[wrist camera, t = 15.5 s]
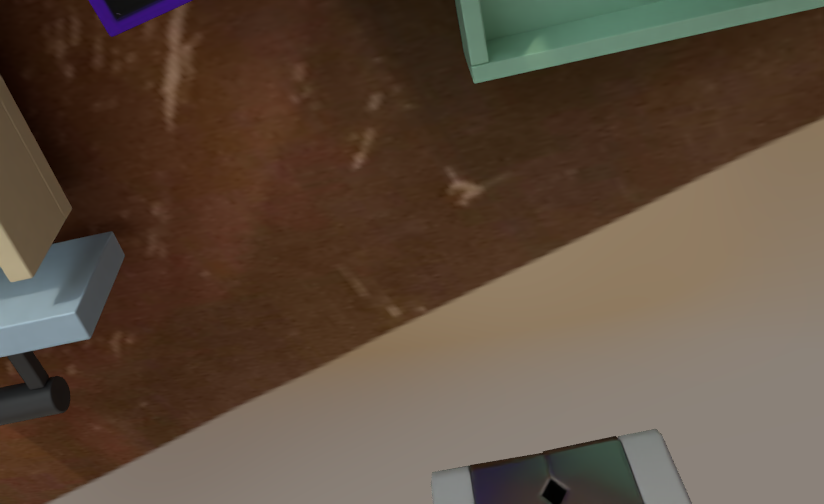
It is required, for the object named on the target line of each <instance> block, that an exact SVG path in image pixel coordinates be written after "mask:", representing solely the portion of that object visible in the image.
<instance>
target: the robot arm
mask: <svg viewBox="0 0 824 504" xmlns="http://www.w3.org/2000/svg"><path fill="white" fill-rule="evenodd" d="M431 487H432V497H433V504H692V502H691V500H690V498H689V496H688V493H687V491H686V489H685V487H684V484H683V482H682V480H681V477H680V475H679V473H678V471H677V468H676V466H675V464H674V461H673V460H672V457H671V455H670V452H669V450H668V448H667V445H666V443H665V441H664V439H663V437H662V434H661V433H659V432H658V430H657V429H653V430H648V431H643V432H638V433H633V434H627V435H623V436H618V438H617V437H616V436H614V437H609V438H604V439H600V440H595V441H590V442H585V443H581V444H576V445H571V446H566V447H561V448H557V449H552V450H547V451H543V453H539V454H533V455H527V456H522V457H515V458H510V459H504V460H498V461H492V462H486V463H480V464H474V465H470V466H464V467H459V468H454V469H448V470H442V471H438V472H433V473H432V480H431Z"/></svg>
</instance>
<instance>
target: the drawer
mask: <svg viewBox="0 0 824 504" xmlns="http://www.w3.org/2000/svg"><path fill="white" fill-rule="evenodd" d="M71 210H72V207H71V205H70V203H69V201H68V199H67V197H66V196H65V194H64V192H63V190H62V188H61V186H60V184H59V183H58V181H57V179H56V177H55V175H54V173H53V171H52V170H51V168H50V166H49V164H48V162H47V160H46V158H45V157H44V155H43V153H42V151H41V149H40V147H39V145H38V144H37V142H36V140H35V138H34V136H33V134H32V132H31V131H30V129H29V127H28V125H27V123H26V121H25V119H24V117H23V116H22V114H21V112H20V110H19V108H18V106H17V104H16V103H15V101H14V99H13V97H12V95H11V93H10V91H9V90H8V88H7V86H6V84H5V82H4V80H3V78H2V77H1V75H0V357H5V356H7V357H8V358H9V360H10V361H11V363H12V364H13V366H14V367H15V369H16V370H17V372H18V373H19V374H20V376H21V377H22V379H23V380H24V382H25V383H21V384H16V385H11V386H6V387H1V388H0V425H4V424H9V423H14V422H19V421H24V420H29V419H34V418H39V417H44V416H49V415H54V414H59V413H63V412H65V411H66V410H67V409H68V407H69V404H70V391H69V387H68V384H67V383H66V381H65V380H64V379H63V378H62V377H60V376H55V377H50V378H49V376H48V374H47V373H46V371H45V370H44V368H43V367H42V365H41V364H40V362H39V361H38V359H37V357H36V356H35V354H34V353H33V351H34V350H39V349H44V348H48V347H53V346H58V345H63V344H68V343H73V342H77V341H82V340H87V339H90V338H91V337H92V334H93V332H94V329H95V327H96V325H97V322H98V320H99V317H100V315H101V313H102V310H103V308H104V305H105V303H106V300H107V298H108V296H109V293H110V291H111V288H112V286H113V284H114V281H115V279H116V276H117V274H118V272H119V269H120V267H121V264H122V262H123V259H124V257H125V255H124V253H123V251H122V249H121V247H120V245H119V243H118V241H117V239H116V237H115V235H114V233H113V232H112V231H110V232H106V233H101V234H96V235H92V236H87V237H82V238H78V239H73V240H68V241H64V242H59V243H55V244H52V243H53V241H54V240H55V238H56V236H57V234H58V233H59V231H60V229H61V227H62V225H63V224H64V222H65V219H67V217H68V215H69V213H70V212H71Z"/></svg>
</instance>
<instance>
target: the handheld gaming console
mask: <svg viewBox="0 0 824 504" xmlns="http://www.w3.org/2000/svg"><path fill="white" fill-rule="evenodd" d="M190 1H192V0H89V2H90V4H91V5H92V7H93V9H94V10H95V12H96V14H97V16H98V17H99V19H100V21H101V22H102V24H103V26H104V27H105V29H106V31H107V32H108V34H109V35H110V36H111V37H113V36H116V35H118V34H120V33H122V32H125V31H127V30H129V29H131V28H133V27H135V26H138V25H140V24H142V23H144V22H146V21H149V20H151V19H153V18H155V17H157V16H160V15H162V14H164V13H166V12H168V11H170V10H173V9H175V8H177V7H179V6H181V5H184V4H186V3H188V2H190Z"/></svg>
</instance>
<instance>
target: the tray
mask: <svg viewBox="0 0 824 504" xmlns="http://www.w3.org/2000/svg"><path fill="white" fill-rule="evenodd" d="M455 4H456V10H457V16H458V21H459V27H460V33H461V38H462V44H463V50H464V55H465V58H466V61H467V64H468V67H469V70H470V73H471V76H472V79H473V82H474V83H480V82H484V81H489V80H493V79H498V78H503V77H507V76H512V75H516V74H521V73H525V72H530V71H534V70H539V69H543V68H548V67H552V66H557V65H561V64H566V63H570V62H575V61H579V60H584V59H588V58H593V57H598V56H602V55H607V54H611V53H616V52H620V51H625V50H629V49H634V48H638V47H643V46H647V45H652V44H656V43H661V42H665V41H670V40H674V39H679V38H683V37H688V36H693V35H697V34H702V33H706V32H711V31H715V30H720V29H724V28H729V27H733V26H738V25H742V24H747V23H751V22H756V21H760V20H765V19H769V18H774V17H778V16H783V15H788V14H792V13H797V12H801V11H806V10H810V9H815V8H819V7H824V0H455Z"/></svg>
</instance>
